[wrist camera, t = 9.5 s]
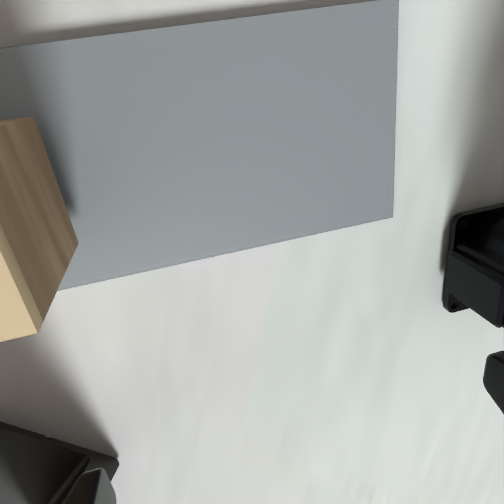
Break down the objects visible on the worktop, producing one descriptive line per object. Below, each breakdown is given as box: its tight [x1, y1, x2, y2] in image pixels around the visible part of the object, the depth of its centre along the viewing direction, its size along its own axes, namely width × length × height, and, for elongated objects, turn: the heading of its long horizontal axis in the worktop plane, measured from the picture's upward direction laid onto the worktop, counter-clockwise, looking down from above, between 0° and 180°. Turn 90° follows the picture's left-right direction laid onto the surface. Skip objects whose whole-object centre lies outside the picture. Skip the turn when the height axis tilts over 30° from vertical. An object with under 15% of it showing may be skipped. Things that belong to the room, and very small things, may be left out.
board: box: [0, 0, 399, 291], centre depth 17 cm, size 24×10×1 cm, turn 98°
